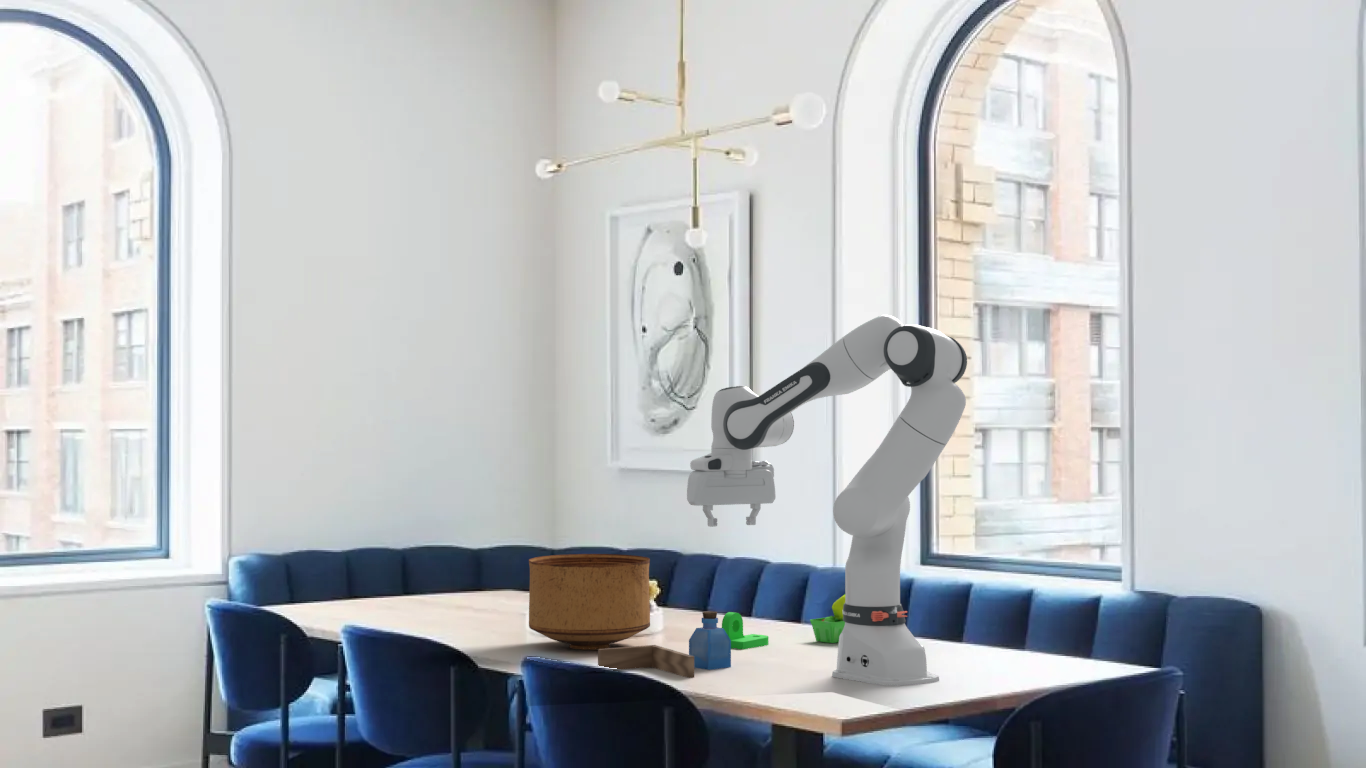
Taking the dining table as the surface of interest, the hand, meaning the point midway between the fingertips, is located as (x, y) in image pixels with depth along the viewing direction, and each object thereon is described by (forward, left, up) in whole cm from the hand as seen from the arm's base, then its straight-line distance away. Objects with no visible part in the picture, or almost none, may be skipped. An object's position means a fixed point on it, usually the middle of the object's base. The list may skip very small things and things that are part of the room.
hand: (731, 525), depth 361 cm
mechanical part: (+18, -14, -30) cm, 38 cm away
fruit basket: (+16, -37, -29) cm, 50 cm away
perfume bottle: (-8, +10, -29) cm, 32 cm away
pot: (+33, +19, -29) cm, 48 cm away
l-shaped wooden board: (-11, +26, -29) cm, 41 cm away
